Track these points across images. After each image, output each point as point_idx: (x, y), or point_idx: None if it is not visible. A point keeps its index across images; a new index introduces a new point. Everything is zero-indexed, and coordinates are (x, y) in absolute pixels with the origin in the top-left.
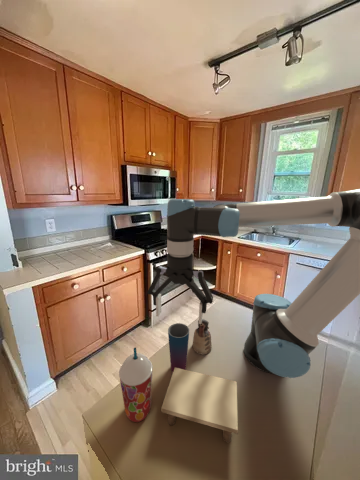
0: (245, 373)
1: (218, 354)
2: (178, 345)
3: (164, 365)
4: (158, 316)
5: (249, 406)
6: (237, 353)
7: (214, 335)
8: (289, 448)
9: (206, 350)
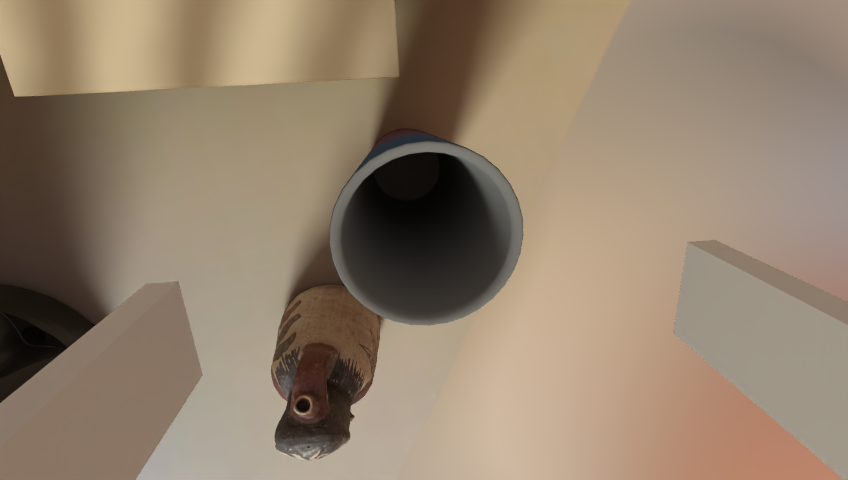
0: (85, 245)
1: (240, 309)
2: (396, 140)
3: None
4: (688, 244)
5: None
6: None
7: None
8: None
9: (295, 302)
